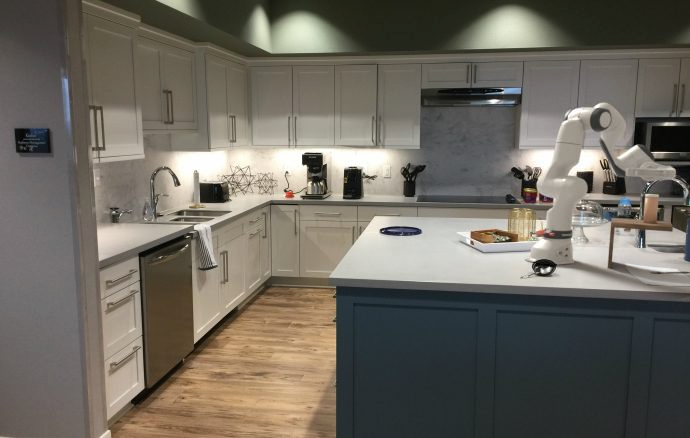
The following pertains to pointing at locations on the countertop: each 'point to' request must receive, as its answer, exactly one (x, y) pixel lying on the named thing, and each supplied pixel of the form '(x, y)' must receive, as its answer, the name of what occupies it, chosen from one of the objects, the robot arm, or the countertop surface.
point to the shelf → (634, 225)
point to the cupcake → (538, 231)
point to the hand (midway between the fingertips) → (650, 173)
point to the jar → (650, 208)
